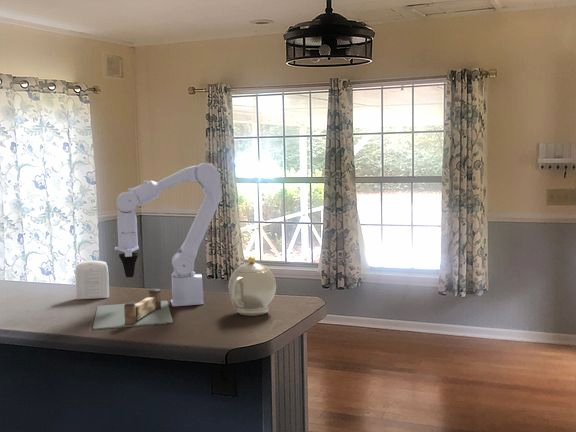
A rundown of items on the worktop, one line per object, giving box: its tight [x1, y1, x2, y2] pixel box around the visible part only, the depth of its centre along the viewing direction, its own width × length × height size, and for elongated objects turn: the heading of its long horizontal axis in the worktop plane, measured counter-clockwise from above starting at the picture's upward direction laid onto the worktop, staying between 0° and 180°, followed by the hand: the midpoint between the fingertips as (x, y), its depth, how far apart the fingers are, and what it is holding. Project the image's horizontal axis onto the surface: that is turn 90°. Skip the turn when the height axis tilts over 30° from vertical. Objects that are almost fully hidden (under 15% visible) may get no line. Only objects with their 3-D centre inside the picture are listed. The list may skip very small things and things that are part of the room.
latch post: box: [124, 301, 136, 325], centre depth 176 cm, size 3×3×6 cm
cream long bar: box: [135, 295, 156, 320], centre depth 184 cm, size 13×2×4 cm, turn 170°
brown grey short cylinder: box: [148, 288, 162, 310], centre depth 193 cm, size 3×3×6 cm
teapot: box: [228, 256, 277, 317], centre depth 185 cm, size 18×14×16 cm
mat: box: [92, 300, 174, 331], centre depth 188 cm, size 21×27×1 cm
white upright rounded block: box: [75, 259, 110, 300], centre depth 211 cm, size 10×4×12 cm, turn 103°
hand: (129, 276), depth 196 cm, fingers closed
